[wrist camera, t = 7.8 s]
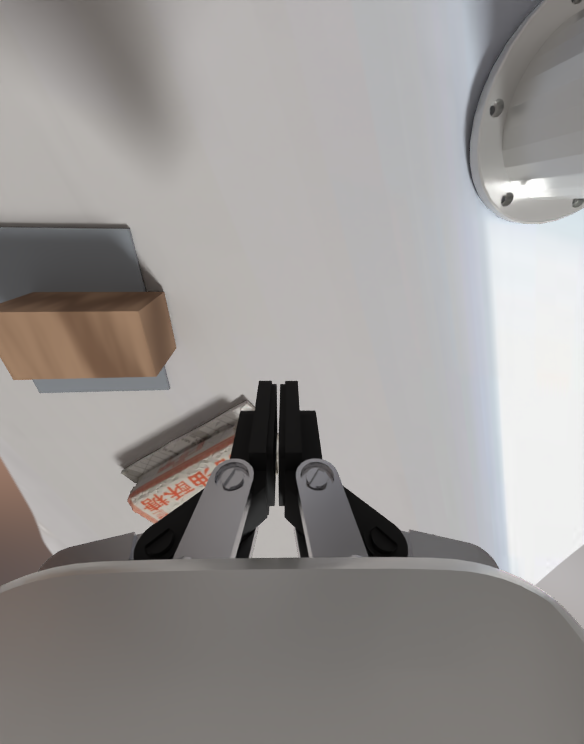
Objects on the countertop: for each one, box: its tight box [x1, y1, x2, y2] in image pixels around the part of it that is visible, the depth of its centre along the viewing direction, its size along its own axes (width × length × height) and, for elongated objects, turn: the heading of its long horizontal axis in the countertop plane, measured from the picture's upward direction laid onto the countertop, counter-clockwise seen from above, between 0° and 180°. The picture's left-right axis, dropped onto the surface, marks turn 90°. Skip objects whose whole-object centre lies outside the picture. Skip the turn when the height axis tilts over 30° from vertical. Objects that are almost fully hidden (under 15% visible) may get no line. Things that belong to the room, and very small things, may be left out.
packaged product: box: [121, 400, 279, 524], centre depth 31 cm, size 18×5×10 cm
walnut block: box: [0, 292, 176, 380], centre depth 21 cm, size 5×5×10 cm
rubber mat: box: [0, 227, 170, 393], centre depth 23 cm, size 12×14×1 cm
